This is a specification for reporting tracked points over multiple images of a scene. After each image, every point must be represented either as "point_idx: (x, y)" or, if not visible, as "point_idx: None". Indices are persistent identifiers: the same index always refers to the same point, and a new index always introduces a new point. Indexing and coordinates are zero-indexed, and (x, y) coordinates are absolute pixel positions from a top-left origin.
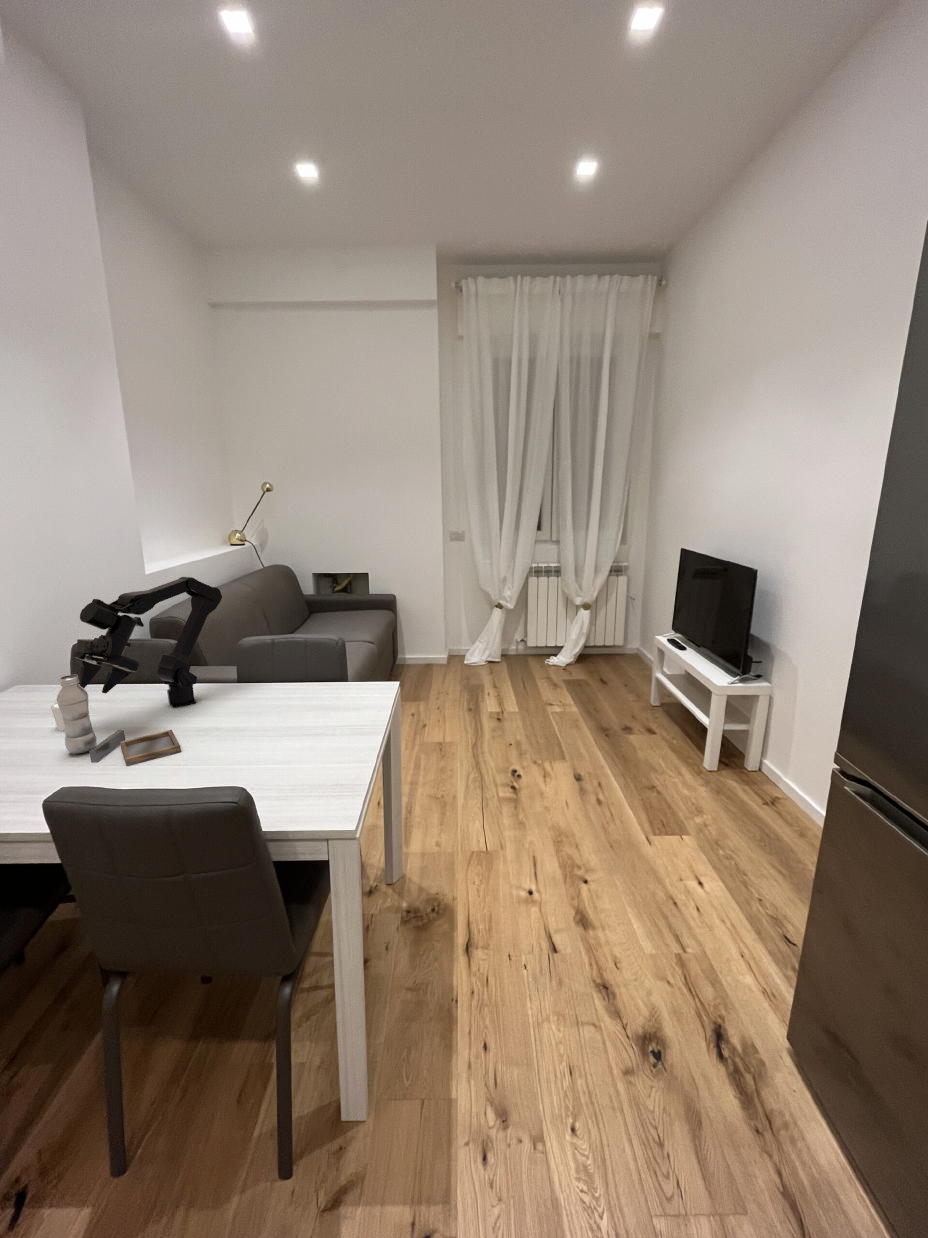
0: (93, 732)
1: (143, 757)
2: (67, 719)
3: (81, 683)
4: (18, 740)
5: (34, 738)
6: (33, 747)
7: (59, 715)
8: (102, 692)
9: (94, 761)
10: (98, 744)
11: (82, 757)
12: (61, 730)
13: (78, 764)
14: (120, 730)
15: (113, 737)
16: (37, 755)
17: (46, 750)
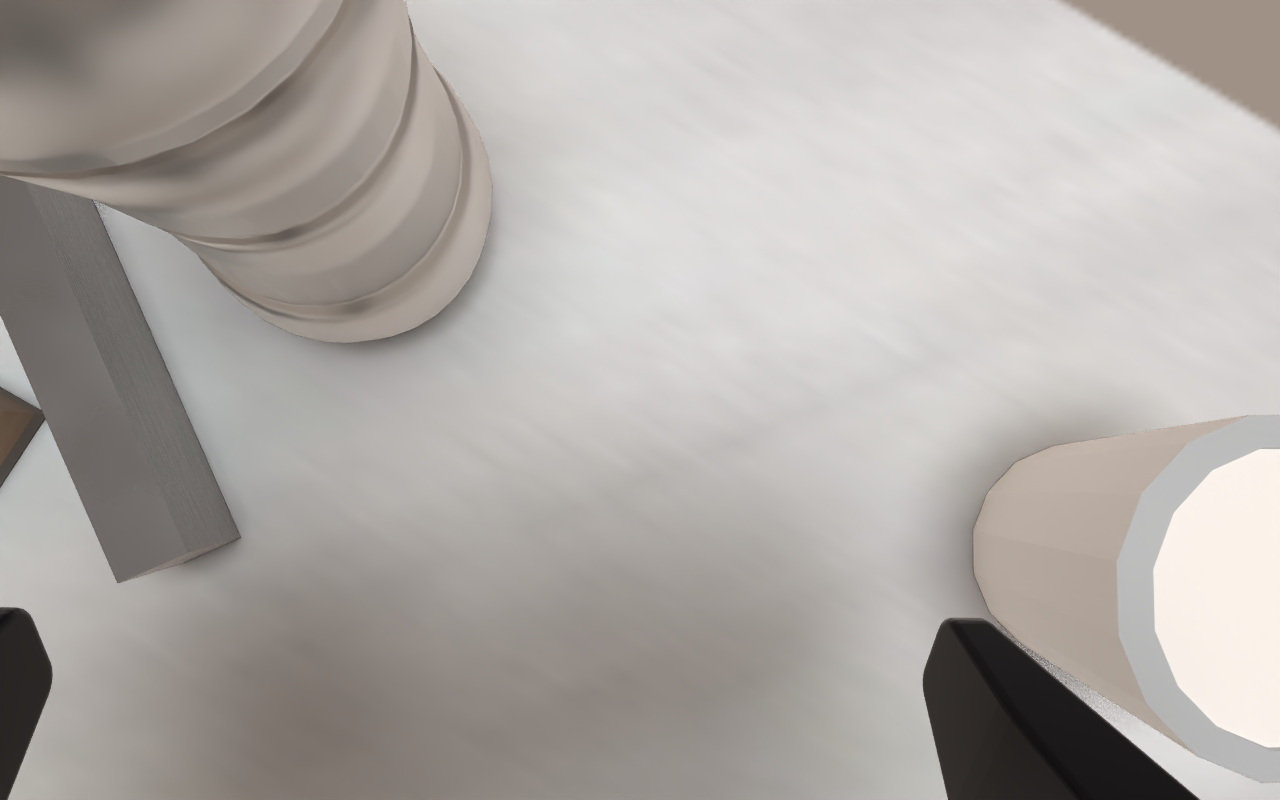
0: (207, 265)
1: None
2: None
3: (995, 687)
4: (1203, 152)
5: (1113, 236)
6: (912, 104)
7: (1141, 441)
8: (4, 610)
9: None
10: (13, 179)
11: None
12: (1050, 448)
13: None
14: (134, 549)
15: (32, 381)
16: (698, 7)
17: (729, 105)
